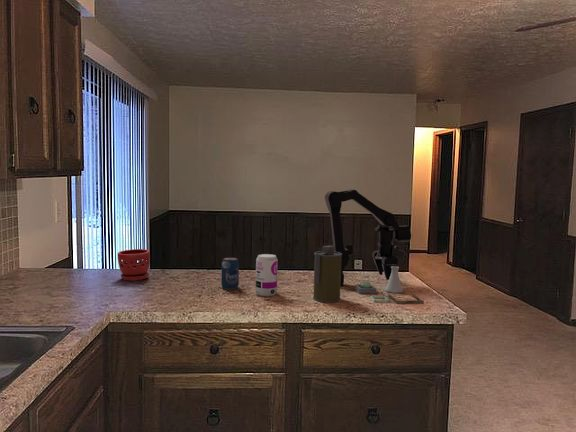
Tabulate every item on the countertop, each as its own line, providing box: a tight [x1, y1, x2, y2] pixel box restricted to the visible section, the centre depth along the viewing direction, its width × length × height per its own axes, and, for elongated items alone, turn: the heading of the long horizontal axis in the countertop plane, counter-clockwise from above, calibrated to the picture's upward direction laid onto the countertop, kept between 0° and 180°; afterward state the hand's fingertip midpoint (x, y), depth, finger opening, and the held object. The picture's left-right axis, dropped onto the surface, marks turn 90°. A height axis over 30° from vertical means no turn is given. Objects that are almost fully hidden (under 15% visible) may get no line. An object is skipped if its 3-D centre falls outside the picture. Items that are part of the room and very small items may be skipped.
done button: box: [360, 281, 371, 288], centre depth 194 cm, size 4×4×2 cm
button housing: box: [354, 283, 377, 295], centre depth 194 cm, size 7×7×2 cm
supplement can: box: [255, 253, 279, 297], centre depth 186 cm, size 8×8×15 cm
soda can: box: [220, 256, 240, 291], centre depth 194 cm, size 7×7×12 cm
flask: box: [384, 266, 404, 294], centre depth 195 cm, size 7×7×10 cm
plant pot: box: [117, 248, 151, 282], centre depth 206 cm, size 13×13×12 cm
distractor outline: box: [369, 295, 391, 303], centre depth 181 cm, size 6×6×1 cm
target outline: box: [387, 294, 424, 305], centre depth 182 cm, size 10×10×1 cm
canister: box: [312, 244, 342, 304], centre depth 180 cm, size 11×10×20 cm
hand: (384, 277), depth 208 cm, fingers open, 9 cm apart
